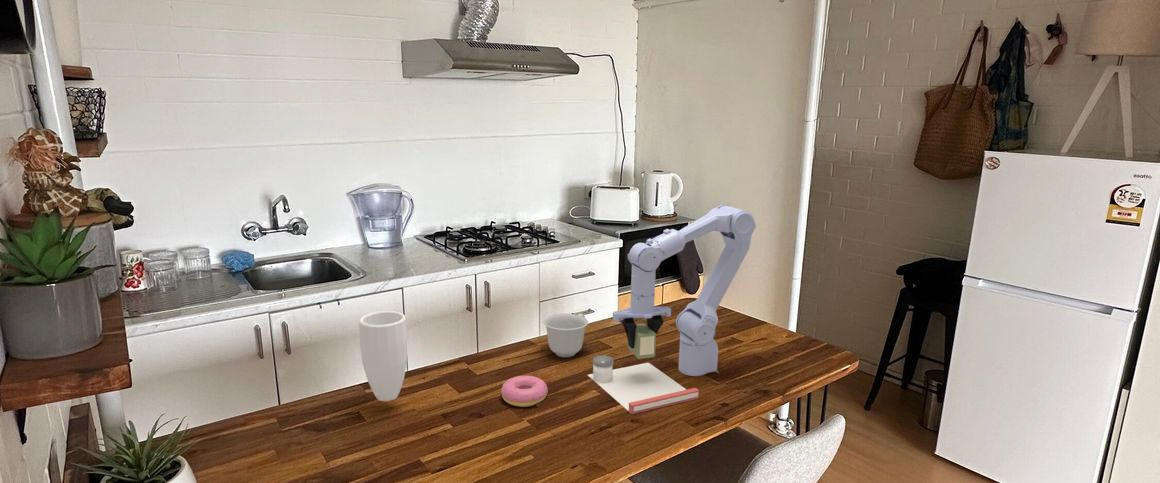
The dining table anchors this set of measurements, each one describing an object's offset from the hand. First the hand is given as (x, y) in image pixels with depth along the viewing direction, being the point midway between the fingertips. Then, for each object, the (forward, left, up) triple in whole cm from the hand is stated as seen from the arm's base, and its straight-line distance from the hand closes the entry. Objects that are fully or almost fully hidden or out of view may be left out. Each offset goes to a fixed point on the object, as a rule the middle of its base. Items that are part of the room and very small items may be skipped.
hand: (640, 345), depth 158 cm
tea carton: (0, 0, -2) cm, 2 cm away
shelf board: (+2, +4, -9) cm, 10 cm away
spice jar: (+9, -4, -9) cm, 13 cm away
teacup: (+9, -23, -10) cm, 26 cm away
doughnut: (+29, -4, -10) cm, 31 cm away
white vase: (+59, -12, -10) cm, 61 cm away
